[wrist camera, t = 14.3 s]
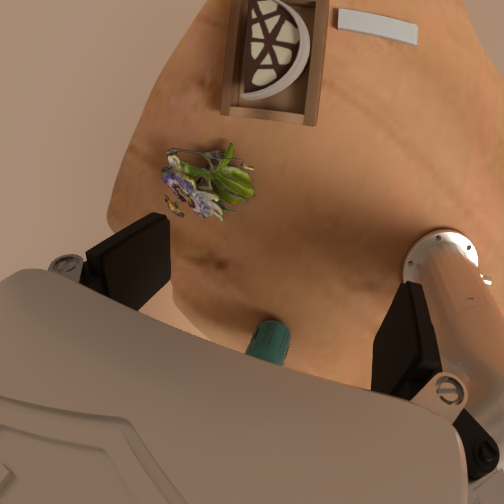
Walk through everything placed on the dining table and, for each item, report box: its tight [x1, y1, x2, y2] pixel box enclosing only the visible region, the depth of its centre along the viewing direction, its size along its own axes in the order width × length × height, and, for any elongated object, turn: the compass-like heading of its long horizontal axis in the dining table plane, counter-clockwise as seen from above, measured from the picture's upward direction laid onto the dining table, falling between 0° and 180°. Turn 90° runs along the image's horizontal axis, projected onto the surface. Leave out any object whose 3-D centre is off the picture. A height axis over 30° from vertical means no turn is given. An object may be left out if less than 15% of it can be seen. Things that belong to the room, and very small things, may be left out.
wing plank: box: [338, 8, 418, 47], centre depth 24 cm, size 10×3×2 cm, turn 85°
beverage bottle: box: [244, 320, 290, 366], centre depth 42 cm, size 6×7×20 cm
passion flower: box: [161, 143, 255, 221], centre depth 38 cm, size 11×11×12 cm
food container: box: [240, 0, 310, 100], centre depth 25 cm, size 12×6×10 cm, turn 178°
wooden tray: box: [220, 0, 329, 126], centre depth 29 cm, size 11×17×4 cm, turn 175°
